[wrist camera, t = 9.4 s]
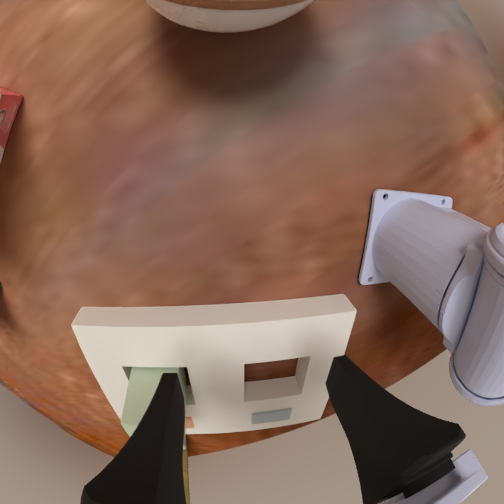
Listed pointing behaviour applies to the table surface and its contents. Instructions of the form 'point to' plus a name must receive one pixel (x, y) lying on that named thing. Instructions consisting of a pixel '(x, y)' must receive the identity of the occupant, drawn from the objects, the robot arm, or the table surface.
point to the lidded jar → (227, 13)
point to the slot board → (223, 356)
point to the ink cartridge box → (7, 114)
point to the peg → (146, 394)
